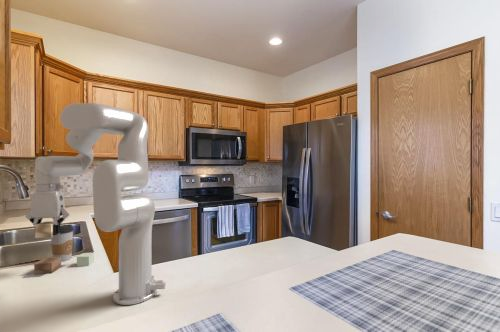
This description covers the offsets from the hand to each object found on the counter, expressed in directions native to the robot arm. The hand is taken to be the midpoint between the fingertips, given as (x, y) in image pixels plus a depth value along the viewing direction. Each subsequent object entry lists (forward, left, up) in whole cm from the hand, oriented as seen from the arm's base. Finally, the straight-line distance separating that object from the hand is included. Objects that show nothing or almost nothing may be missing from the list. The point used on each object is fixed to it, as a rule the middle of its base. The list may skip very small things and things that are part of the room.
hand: (47, 234), depth 100 cm
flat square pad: (0, 0, -15) cm, 15 cm away
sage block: (-12, -4, -15) cm, 20 cm away
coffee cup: (+1, -12, -15) cm, 20 cm away
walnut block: (0, 0, -14) cm, 14 cm away
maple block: (0, 0, -1) cm, 1 cm away
